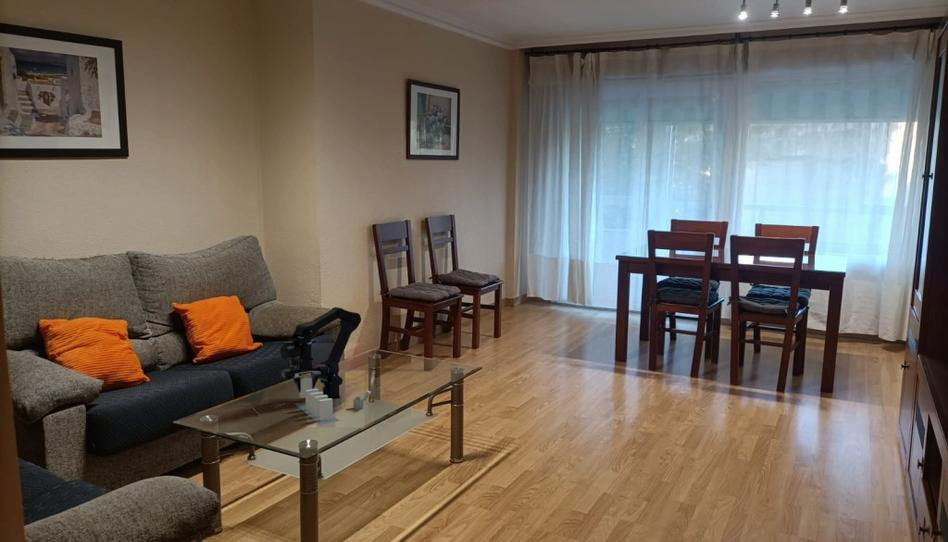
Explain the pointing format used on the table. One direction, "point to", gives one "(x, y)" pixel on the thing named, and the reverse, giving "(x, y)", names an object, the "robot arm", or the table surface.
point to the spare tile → (305, 385)
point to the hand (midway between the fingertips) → (305, 391)
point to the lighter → (360, 401)
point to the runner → (303, 407)
